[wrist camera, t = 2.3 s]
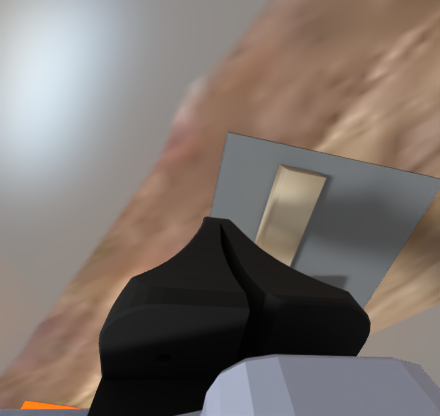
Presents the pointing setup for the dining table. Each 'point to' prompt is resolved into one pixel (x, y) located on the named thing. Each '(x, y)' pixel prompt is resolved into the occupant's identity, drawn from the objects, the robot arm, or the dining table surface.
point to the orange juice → (43, 406)
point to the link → (288, 211)
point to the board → (328, 209)
